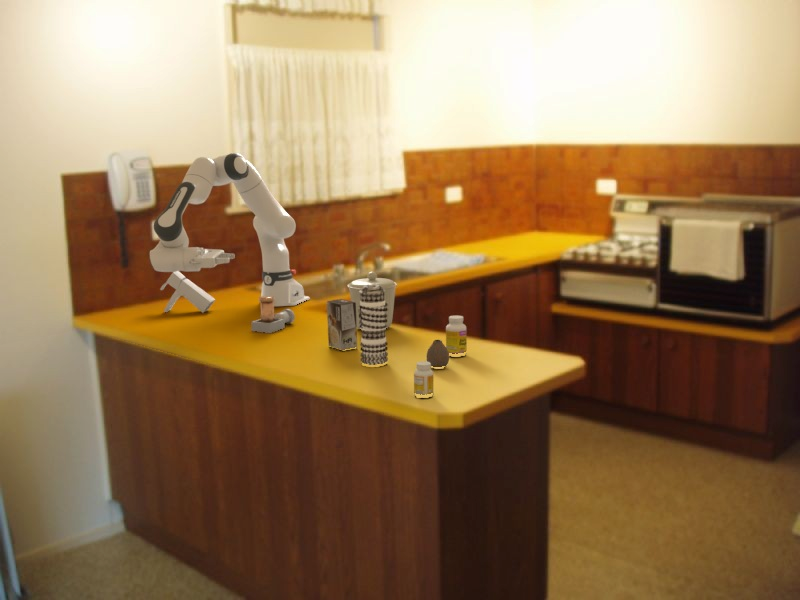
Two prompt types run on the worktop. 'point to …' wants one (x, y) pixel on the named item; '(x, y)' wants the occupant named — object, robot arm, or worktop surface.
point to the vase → (437, 354)
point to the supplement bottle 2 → (456, 335)
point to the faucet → (187, 292)
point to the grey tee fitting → (278, 323)
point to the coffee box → (342, 324)
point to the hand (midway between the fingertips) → (232, 258)
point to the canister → (372, 280)
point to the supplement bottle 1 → (423, 378)
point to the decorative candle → (373, 325)
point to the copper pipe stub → (267, 309)
